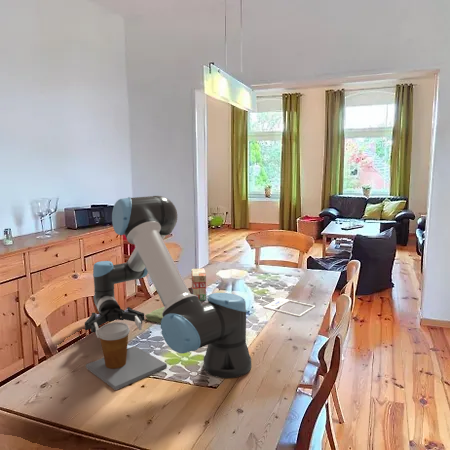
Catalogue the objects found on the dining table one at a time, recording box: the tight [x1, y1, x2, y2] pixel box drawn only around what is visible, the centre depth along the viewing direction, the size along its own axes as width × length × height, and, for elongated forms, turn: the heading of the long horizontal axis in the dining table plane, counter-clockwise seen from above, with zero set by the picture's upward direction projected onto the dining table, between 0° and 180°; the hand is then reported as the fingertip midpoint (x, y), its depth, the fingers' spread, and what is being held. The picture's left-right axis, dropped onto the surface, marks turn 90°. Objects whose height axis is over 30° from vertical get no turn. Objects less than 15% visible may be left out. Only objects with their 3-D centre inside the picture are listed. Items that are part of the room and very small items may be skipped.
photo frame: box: [262, 297, 316, 318], centre depth 179 cm, size 15×1×18 cm
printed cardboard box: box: [190, 267, 207, 301], centre depth 198 cm, size 21×6×12 cm, turn 6°
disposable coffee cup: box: [98, 321, 131, 369], centre depth 126 cm, size 10×10×12 cm
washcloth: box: [144, 306, 164, 324], centre depth 167 cm, size 13×18×3 cm
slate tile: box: [85, 345, 168, 391], centre depth 127 cm, size 18×18×1 cm
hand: (119, 329), depth 133 cm, fingers open, 13 cm apart
